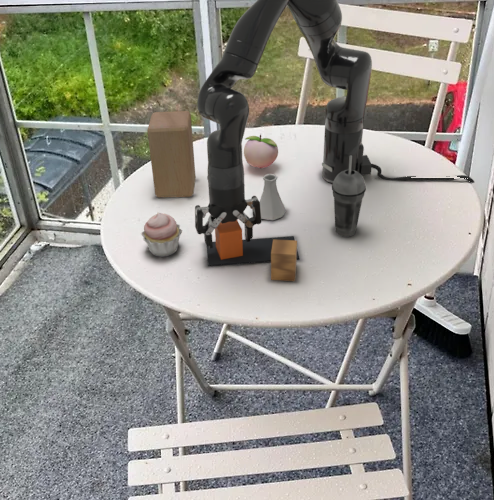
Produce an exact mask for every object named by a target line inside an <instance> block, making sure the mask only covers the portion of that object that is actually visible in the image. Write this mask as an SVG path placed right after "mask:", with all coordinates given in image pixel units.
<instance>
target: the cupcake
mask: <svg viewBox="0 0 494 500" xmlns="http://www.w3.org/2000/svg"><path fill="white" fill-rule="evenodd" d="M180 227H181V225H180V224H178V223H177V221H176V220H175V218H174V217H173V216H172V215H170V214H167V213H162V212H160V211H159V212H158V211H157V213H156V214H154V215H152V216H151V217H150V218H148V220H147V221H146V222H145V223H144V225H143V231H142V232H141V233H140V235H141V236H142V237H143V238H142V240H143V241H144V243H146V245H147V248H148V250H149V252H150V253H151V254H152V255H153V256H156V257H162V258H163V257H169V256H171V255H174V254H175V252H176V251H177V250H178V247H179V241H180V237H181V235H182V232H183V229H182V228H180Z"/></svg>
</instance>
